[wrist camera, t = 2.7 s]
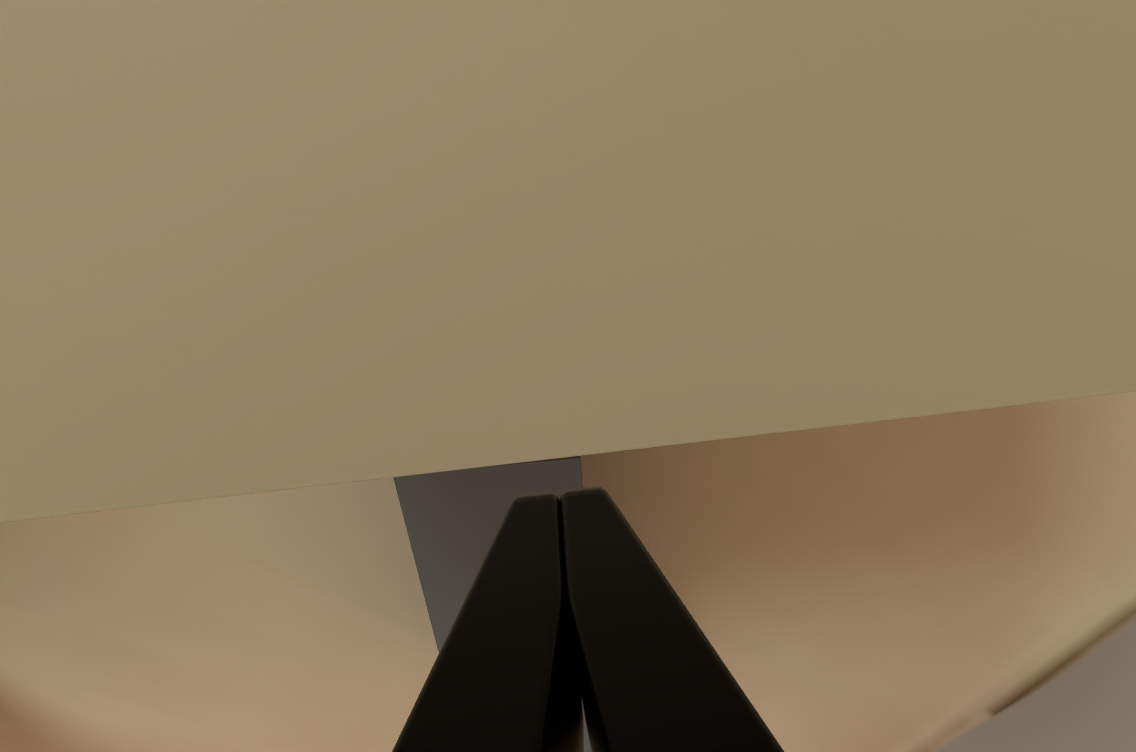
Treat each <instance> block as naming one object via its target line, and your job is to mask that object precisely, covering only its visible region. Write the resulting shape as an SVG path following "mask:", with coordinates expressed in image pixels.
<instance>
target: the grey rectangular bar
mask: <svg viewBox="0 0 1136 752" xmlns="http://www.w3.org/2000/svg"><path fill="white" fill-rule="evenodd" d="M393 478H394V482H395V485H396V489H397V493H398V497H399V501H400V505H401V509H402V512H403V516H404V520H405V524H406V528H407V532H408V536H409V539H410V543H411V547H412V551H413V555H414V559H415V562H416V566H417V570H418V574H419V578H420V582H421V586H422V589H423V593H424V597H425V601H426V605H427V609H428V613H429V616H430V620H431V624H432V628H433V632H434V636H435V640H436V643H437V647H438V651H439V653H440V650H441V648H442V646H443V644H444V642H445V640H446V638H447V636H448V634H449V632H450V630H451V627H452V625H453V623H454V621H455V619H456V617H457V615H458V613H459V611H460V609H461V607H462V604H463V602H464V600H465V598H466V596H467V594H468V592H469V590H470V588H471V586H472V584H473V581H474V579H475V577H476V575H477V573H478V571H479V569H480V567H481V565H482V563H483V561H484V558H485V556H486V554H487V552H488V550H489V548H490V546H491V544H492V542H493V540H494V538H495V535H496V533H497V531H498V529H499V527H500V525H501V523H502V521H503V519H504V517H505V515H506V512H507V510H508V508H509V506H510V504H511V503H512V501H513V500H514V499H515V498H516V497H518V496H521V495H530V494H539V493H547V492H553V493H555V494H557V495H558V497H559V500H560V496H561V494H562V493H563V492H564V491H566V490H574V489H582V488H583V485H582V473H581V462H580V456H572V457H563V458H555V459H546V460H537V461H529V462H520V463H511V464H503V465H494V466H485V467H477V468H468V469H459V470H451V471H442V472H434V473H425V474H416V475H408V476H399V477H393ZM582 705H583V701H582ZM583 720H584V752H591V747H590V742H589V737H588V732H587V726H586V721H585V714H584V708H583Z"/></svg>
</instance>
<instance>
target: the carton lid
mask: <svg viewBox="0 0 1136 752" xmlns="http://www.w3.org/2000/svg"><path fill="white" fill-rule="evenodd" d="M1135 391H1136V0H0V522H9V521H18V520H26V519H35V518H44V517H52V516H61V515H70V514H78V513H87V512H96V511H104V510H113V509H122V508H130V507H139V506H148V505H156V504H165V503H174V502H182V501H191V500H200V499H208V498H217V497H226V496H234V495H243V494H252V493H260V492H269V491H278V490H286V489H295V488H304V487H312V486H321V485H330V484H338V483H347V482H356V481H364V480H373V479H382V478H390V477H399V476H408V475H416V474H425V473H434V472H442V471H451V470H459V469H468V468H477V467H485V466H494V465H503V464H511V463H520V462H529V461H537V460H546V459H555V458H563V457H572V456H581V455H589V454H598V453H607V452H615V451H624V450H633V449H641V448H650V447H659V446H667V445H676V444H685V443H693V442H702V441H711V440H719V439H728V438H737V437H745V436H754V435H763V434H771V433H780V432H789V431H797V430H806V429H815V428H823V427H832V426H841V425H849V424H858V423H867V422H875V421H884V420H893V419H901V418H910V417H919V416H927V415H936V414H945V413H953V412H962V411H971V410H979V409H988V408H997V407H1005V406H1014V405H1023V404H1031V403H1040V402H1049V401H1057V400H1066V399H1075V398H1083V397H1092V396H1101V395H1109V394H1118V393H1127V392H1135Z"/></svg>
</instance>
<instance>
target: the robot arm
mask: <svg viewBox="0 0 1136 752" xmlns="http://www.w3.org/2000/svg"><path fill="white" fill-rule="evenodd" d="M582 701H583V705H582ZM583 708H584V714H585V721H586V726H587V732H588V737H589V742H590V747H591V752H784V751H783V749H782V748H781V746H780V745H779V743H778V742H777V740H776V739H775V737H774V736H773V734H772V733H771V732H770V730H769V729H768V727H767V726H766V724H765V723H764V721H763V720H762V718H761V717H760V715H759V714H758V712H757V711H756V710H755V708H754V707H753V705H752V704H751V702H750V701H749V699H748V698H747V696H746V695H745V693H744V692H743V690H742V689H741V688H740V686H739V685H738V683H737V682H736V680H735V679H734V677H733V676H732V674H731V673H730V671H729V670H728V668H727V667H726V666H725V664H724V663H723V661H722V660H721V658H720V657H719V655H718V654H717V652H716V651H715V649H714V648H713V646H712V645H711V644H710V642H709V641H708V639H707V638H706V636H705V635H704V633H703V632H702V630H701V629H700V627H699V626H698V624H697V623H696V622H695V620H694V619H693V617H692V616H691V614H690V613H689V611H688V610H687V608H686V607H685V605H684V604H683V602H682V601H681V600H680V598H679V597H678V595H677V594H676V592H675V591H674V589H673V588H672V586H671V585H670V583H669V582H668V580H667V579H666V578H665V576H664V575H663V573H662V572H661V570H660V569H659V567H658V566H657V564H656V563H655V561H654V560H653V558H652V557H651V555H650V554H649V553H648V551H647V550H646V548H645V547H644V545H643V544H642V542H641V541H640V539H639V538H638V536H637V535H636V533H635V532H634V531H633V529H632V528H631V526H630V525H629V523H628V522H627V520H626V519H625V517H624V516H623V514H622V513H621V511H620V510H619V509H618V507H617V506H616V504H615V503H614V501H613V500H612V498H611V497H610V495H609V494H608V493H607V492H606V491H605V490H604V489H603V488H601V487H591V488H582V489H574V490H566V491H564V492H563V493H562V494H561V496H560V500H559V497H558V495H557V494H555V493H553V492H547V493H539V494H530V495H521V496H518V497H516V498H515V499H514V500H513V501H512V503H511V504H510V506H509V508H508V510H507V512H506V515H505V517H504V519H503V521H502V523H501V525H500V527H499V529H498V531H497V533H496V535H495V538H494V540H493V542H492V544H491V546H490V548H489V550H488V552H487V554H486V556H485V558H484V561H483V563H482V565H481V567H480V569H479V571H478V573H477V575H476V577H475V579H474V581H473V584H472V586H471V588H470V590H469V592H468V594H467V596H466V598H465V600H464V602H463V604H462V607H461V609H460V611H459V613H458V615H457V617H456V619H455V621H454V623H453V625H452V627H451V630H450V632H449V634H448V636H447V638H446V640H445V642H444V644H443V646H442V648H441V650H440V653H439V655H438V657H437V659H436V661H435V663H434V665H433V667H432V669H431V671H430V673H429V676H428V678H427V680H426V682H425V684H424V686H423V688H422V690H421V692H420V694H419V696H418V699H417V701H416V703H415V705H414V707H413V709H412V711H411V713H410V715H409V717H408V719H407V722H406V724H405V726H404V728H403V730H402V732H401V734H400V736H399V738H398V740H397V742H396V745H395V747H394V749H393V751H392V752H584V720H583Z"/></svg>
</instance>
